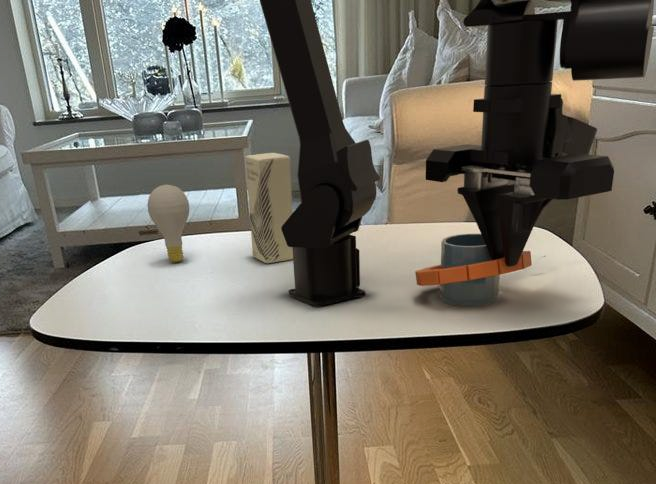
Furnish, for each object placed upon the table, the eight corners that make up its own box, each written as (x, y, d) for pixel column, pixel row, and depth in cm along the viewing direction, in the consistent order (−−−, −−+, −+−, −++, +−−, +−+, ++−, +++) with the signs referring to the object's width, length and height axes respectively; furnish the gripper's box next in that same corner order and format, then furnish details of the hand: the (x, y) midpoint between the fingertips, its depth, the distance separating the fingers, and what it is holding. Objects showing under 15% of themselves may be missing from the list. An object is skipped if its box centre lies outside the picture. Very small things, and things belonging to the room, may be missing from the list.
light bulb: (148, 264, 102) (135, 187, 97) (178, 256, 105) (167, 180, 100) (174, 269, 99) (162, 189, 94) (204, 260, 102) (194, 182, 97)
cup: (465, 310, 76) (468, 249, 73) (428, 297, 80) (429, 240, 77) (510, 298, 78) (515, 239, 75) (471, 286, 83) (474, 231, 80)
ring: (466, 282, 70) (464, 267, 70) (396, 287, 80) (395, 274, 80) (554, 261, 75) (553, 247, 74) (478, 268, 85) (477, 256, 84)
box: (252, 257, 102) (242, 155, 95) (281, 252, 103) (274, 151, 97) (267, 265, 97) (258, 158, 91) (297, 259, 99) (291, 154, 92)
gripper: (673, 75, 61) (642, 266, 69) (511, 78, 76) (500, 236, 83) (575, 86, 57) (553, 289, 65) (423, 87, 71) (420, 253, 79)
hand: (504, 263), depth 73 cm, fingers closed on ring, 1 cm apart
